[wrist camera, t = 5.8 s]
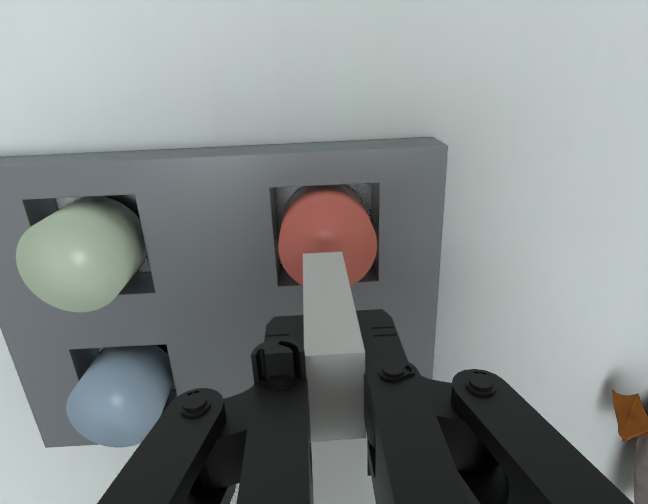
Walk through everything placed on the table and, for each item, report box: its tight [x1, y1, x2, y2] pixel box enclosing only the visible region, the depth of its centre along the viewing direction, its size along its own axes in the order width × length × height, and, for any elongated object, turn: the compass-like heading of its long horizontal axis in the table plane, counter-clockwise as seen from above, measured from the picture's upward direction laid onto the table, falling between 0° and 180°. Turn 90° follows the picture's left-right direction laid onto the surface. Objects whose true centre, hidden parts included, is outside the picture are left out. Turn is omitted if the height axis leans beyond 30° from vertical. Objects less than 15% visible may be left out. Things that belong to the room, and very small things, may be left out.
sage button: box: [16, 196, 147, 312], centre depth 21 cm, size 4×4×3 cm
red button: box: [278, 184, 377, 286], centre depth 22 cm, size 4×4×3 cm
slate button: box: [66, 345, 174, 447], centre depth 24 cm, size 4×4×3 cm
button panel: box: [0, 137, 448, 448], centre depth 24 cm, size 22×16×2 cm
